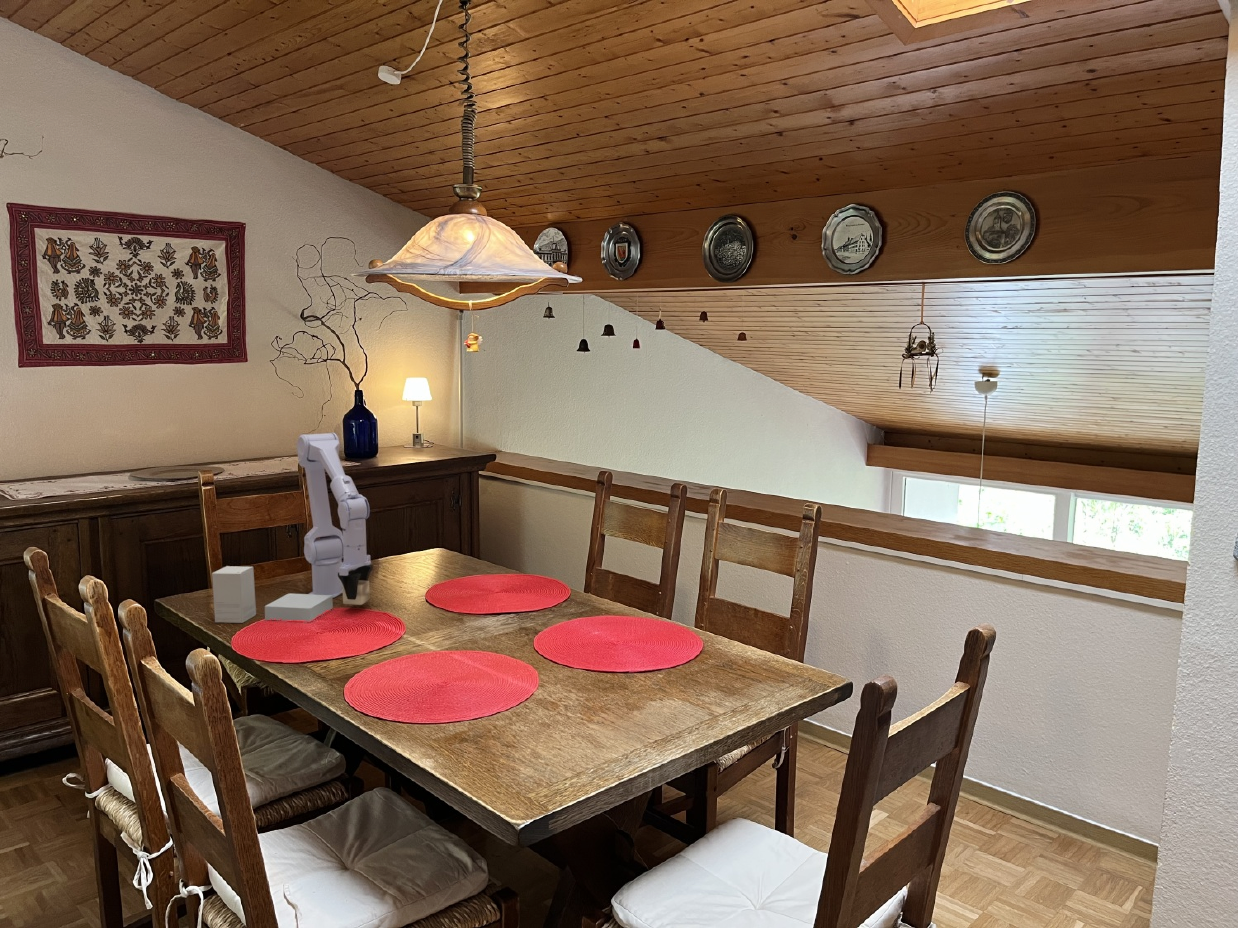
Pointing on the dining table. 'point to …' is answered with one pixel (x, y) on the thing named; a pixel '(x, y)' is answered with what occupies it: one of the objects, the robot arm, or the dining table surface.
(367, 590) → the birch cube
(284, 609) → the grey block
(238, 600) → the supplement box
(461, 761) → the dining table surface
